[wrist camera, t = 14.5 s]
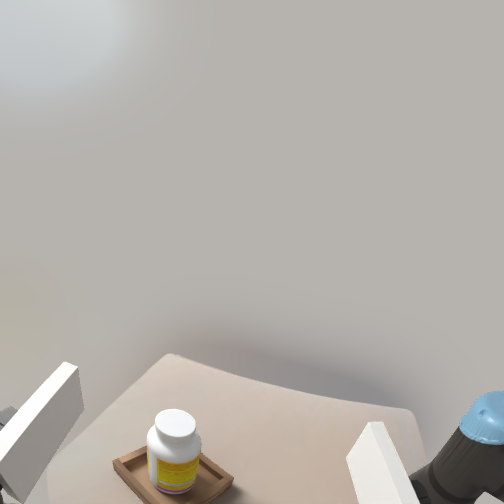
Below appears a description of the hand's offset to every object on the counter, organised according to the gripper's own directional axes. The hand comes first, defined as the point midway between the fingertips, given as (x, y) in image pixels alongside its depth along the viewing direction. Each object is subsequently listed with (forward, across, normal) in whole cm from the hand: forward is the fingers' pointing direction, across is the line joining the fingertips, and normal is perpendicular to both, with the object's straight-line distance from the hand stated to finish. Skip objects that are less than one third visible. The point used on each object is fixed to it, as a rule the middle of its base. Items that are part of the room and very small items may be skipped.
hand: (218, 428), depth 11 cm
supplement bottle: (+15, -4, -29) cm, 33 cm away
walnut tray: (+15, -4, -30) cm, 34 cm away
